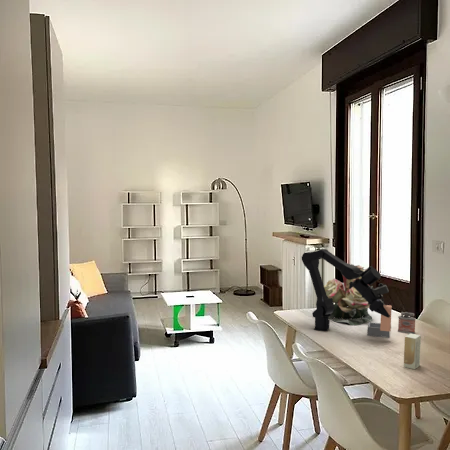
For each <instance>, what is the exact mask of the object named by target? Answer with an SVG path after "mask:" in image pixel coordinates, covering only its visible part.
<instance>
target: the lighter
mask: <svg viewBox="0 0 450 450" xmlns="http://www.w3.org/2000/svg"><path fill="white" fill-rule="evenodd" d="M397 318H398V324H397V325H398V326H397V327H398V328H397V332H398V333H403V334H407V335H408V334H410V333H411V334H416V320H417V319H416V317H415V313H414V312H408V311H405V312H403V311H401V312H400V315H399V316H398V317H397Z"/></svg>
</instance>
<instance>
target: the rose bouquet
mask: <svg viewBox="0 0 450 450" xmlns="http://www.w3.org/2000/svg"><path fill="white" fill-rule="evenodd" d="M350 264H351V265H353V264H352V263H350ZM355 266H356V267H358V268H359V269H360V270H362V271H365V270H367V268H365V267H364V266H362V265H360V264H357V265H355ZM364 268H365V269H364ZM361 278H362V277H359V278H357V279H361ZM342 279H343V282H341V281H340V280H338V279H336V278H335V277H334V278H332V279H329V280H328V281H327V282H326V284H325V285H324V288H325V292H326V295H327V296H328V298H332V299H333V304H334V305H335V306H334V311H333V312H332V314H331V316H329V320H332V322H336V323H347V324H349V325H350V326H359V325H362V324H367V323H368V322H373V321H374V319H373V317H372V315H370V313H369V304H368V302H367V301H366V300H365V299H364V298H362V295H361V294H360V293H359V292H358V291H357V290H356V289H355V288H354V287H352V288H351V289H349V283H350V282H354V281H355V280H356V279H352V280H348V279H346V278H345V277H344V276H343V275H342ZM368 285H369V284H368ZM369 286H370V287H373V288H374V285H369ZM334 317H335V318H334ZM332 318H334V319H332ZM338 318H340V319H338ZM342 318H343V319H342ZM345 319H346V320H345Z"/></svg>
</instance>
